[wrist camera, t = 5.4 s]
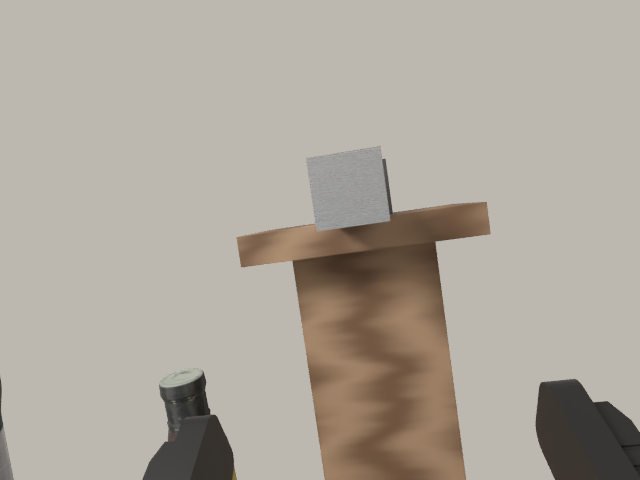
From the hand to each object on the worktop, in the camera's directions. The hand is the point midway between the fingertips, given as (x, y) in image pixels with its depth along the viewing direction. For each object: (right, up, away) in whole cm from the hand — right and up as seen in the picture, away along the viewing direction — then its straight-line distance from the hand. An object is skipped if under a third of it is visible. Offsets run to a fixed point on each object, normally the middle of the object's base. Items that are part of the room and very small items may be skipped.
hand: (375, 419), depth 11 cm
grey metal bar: (+1, +6, +16) cm, 17 cm away
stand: (+6, -25, +23) cm, 35 cm away
